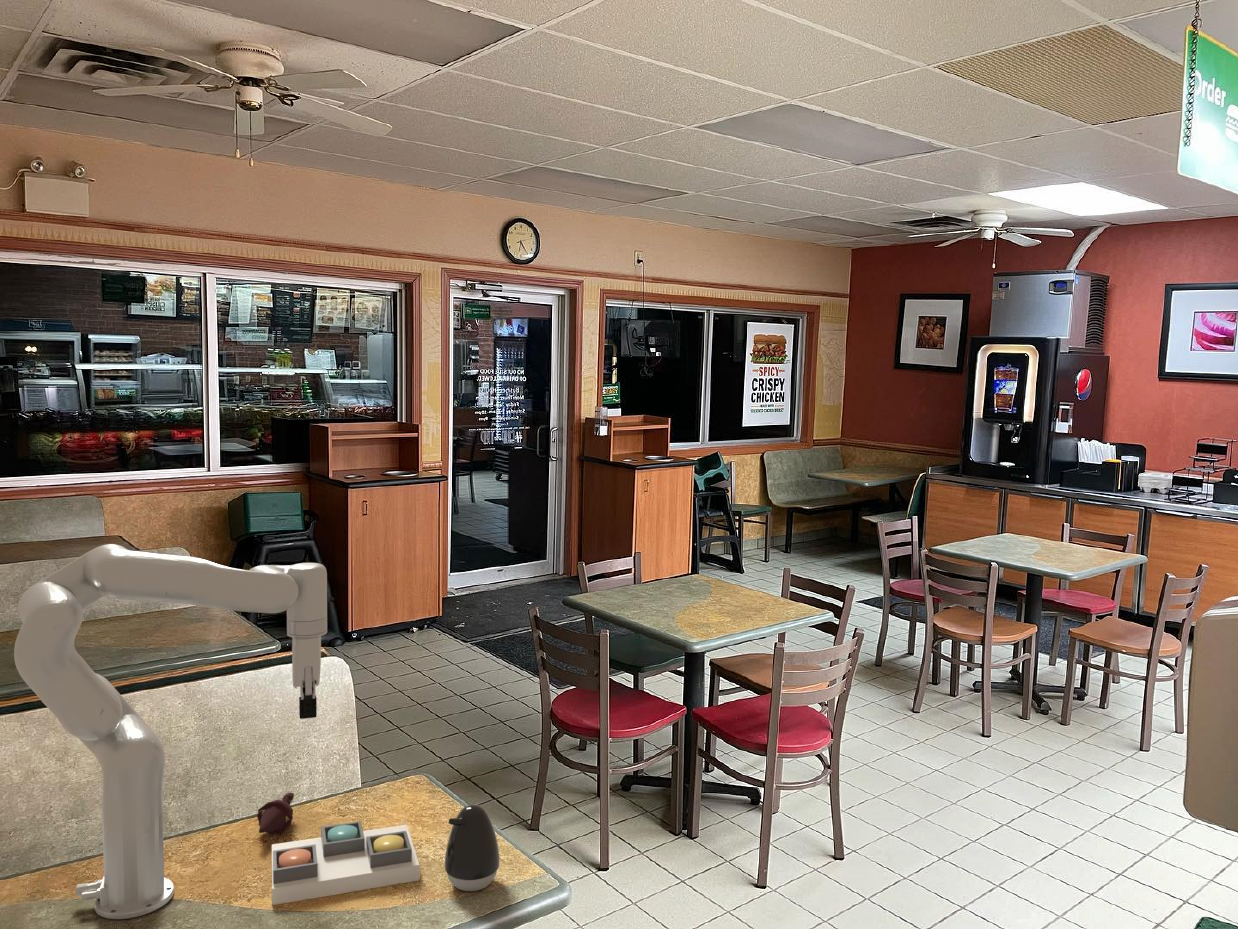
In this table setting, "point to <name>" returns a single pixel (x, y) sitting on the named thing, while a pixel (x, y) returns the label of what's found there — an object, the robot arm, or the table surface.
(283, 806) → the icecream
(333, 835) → the button teal
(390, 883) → the button panel
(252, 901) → the table surface
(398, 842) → the button ochre
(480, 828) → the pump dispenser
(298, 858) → the button terracotta
